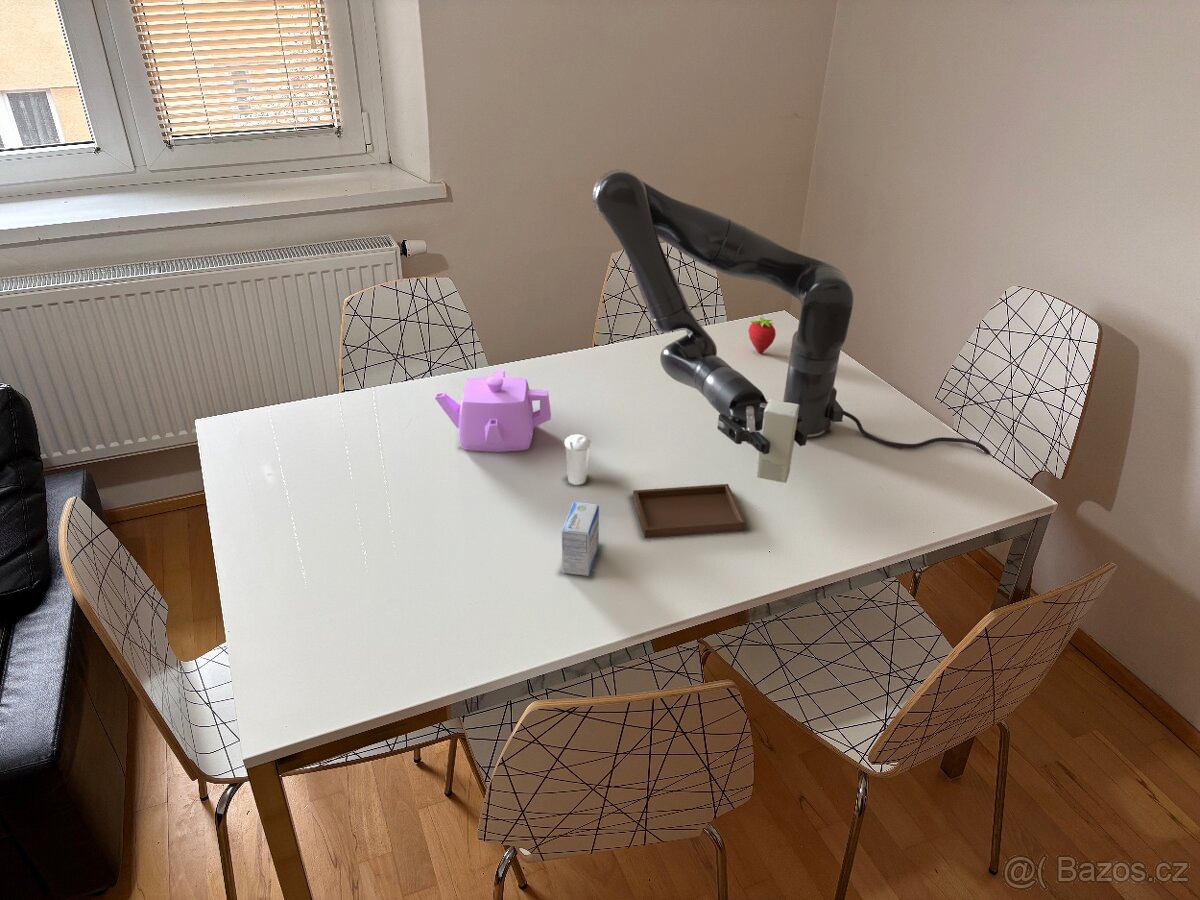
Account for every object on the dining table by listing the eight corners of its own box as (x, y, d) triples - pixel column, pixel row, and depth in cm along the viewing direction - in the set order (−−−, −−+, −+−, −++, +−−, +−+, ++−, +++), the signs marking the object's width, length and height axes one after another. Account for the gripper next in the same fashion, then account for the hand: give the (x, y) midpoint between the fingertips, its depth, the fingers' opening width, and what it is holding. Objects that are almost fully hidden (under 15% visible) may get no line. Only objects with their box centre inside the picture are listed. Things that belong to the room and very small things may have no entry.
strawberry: (754, 361, 202) (759, 322, 196) (741, 347, 208) (745, 308, 202) (777, 359, 203) (783, 319, 198) (764, 345, 209) (769, 306, 204)
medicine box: (588, 577, 138) (589, 534, 133) (561, 573, 139) (561, 530, 134) (599, 546, 144) (600, 504, 140) (572, 542, 145) (572, 500, 140)
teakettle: (558, 435, 173) (557, 379, 167) (493, 469, 163) (490, 412, 156) (500, 405, 183) (497, 351, 176) (435, 436, 172) (430, 380, 166)
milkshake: (558, 486, 159) (558, 439, 153) (570, 470, 163) (570, 424, 157) (581, 492, 157) (582, 445, 152) (593, 476, 161) (594, 430, 156)
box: (790, 470, 146) (802, 403, 139) (785, 484, 143) (797, 417, 136) (758, 463, 148) (768, 397, 141) (753, 477, 144) (763, 410, 137)
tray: (727, 491, 158) (728, 483, 157) (744, 530, 149) (746, 522, 148) (632, 498, 156) (632, 490, 155) (644, 537, 147) (644, 529, 146)
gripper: (698, 384, 148) (750, 433, 135) (771, 370, 153) (828, 416, 140) (694, 422, 152) (744, 473, 139) (765, 407, 157) (820, 455, 144)
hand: (786, 445), depth 139 cm, fingers closed on box, 6 cm apart
